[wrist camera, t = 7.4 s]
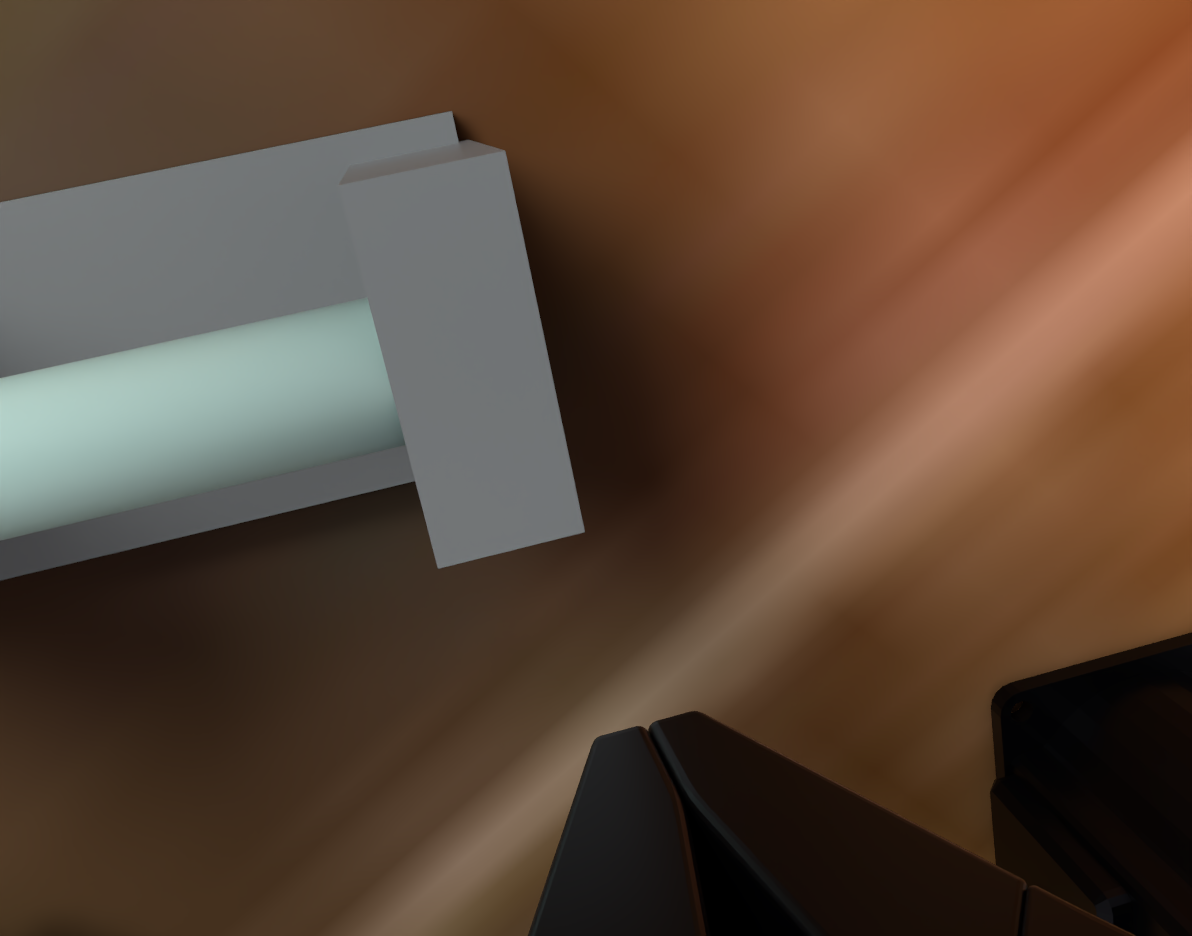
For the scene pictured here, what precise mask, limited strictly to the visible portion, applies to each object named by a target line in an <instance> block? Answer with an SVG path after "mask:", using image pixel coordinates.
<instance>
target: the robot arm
mask: <svg viewBox="0 0 1192 936" xmlns="http://www.w3.org/2000/svg"><path fill="white" fill-rule="evenodd" d="M1021 701H1023V703H1022V706H1021V707H1020V708H1019V709H1018V710H1017V711H1015V712H1013V713H1011V712H1012V709H1013V707H1014V706H1015V705H1016V704H1017V703H1019V702H1021ZM991 716H992V728H993V741H994V754H995V766H996V780H994V783H993V786H992V788H991V791H990V797H991V809H992V821H993V833H994V846H995V858H996V865H995V864H993V863H991V862H989V861H987V860H985V859H983V858H981V857H979V856H977V855H975V854H973V853H972V852H970V851H968V850H966V849H964V848H962V847H960V846H958V845H956V844H954V843H952V842H950V841H948V840H947V839H945V838H943V837H941V836H939V835H937V834H935V833H933V832H931V831H929V830H927V829H925V828H923V827H921V826H920V825H918V824H916V823H914V822H912V821H910V820H908V819H906V818H904V817H902V816H900V815H898V814H896V813H894V812H893V811H891V810H889V809H887V808H885V807H883V806H881V805H879V804H877V803H875V802H873V801H871V800H869V799H867V798H866V797H864V796H862V795H860V794H858V793H856V792H854V791H852V790H850V789H848V788H846V787H844V786H842V785H840V784H839V783H837V782H835V781H833V780H831V779H829V778H827V777H825V776H823V775H821V774H819V773H817V772H815V771H814V770H812V769H810V768H808V767H806V766H804V765H802V764H800V763H798V762H796V761H794V760H792V759H790V758H788V757H787V756H785V755H783V754H781V753H779V752H777V751H775V750H773V749H771V748H769V747H767V746H765V745H763V744H761V743H760V742H758V741H756V740H754V739H752V738H750V737H748V736H746V735H744V734H742V733H740V732H738V731H736V730H734V729H733V728H731V727H729V726H727V725H725V724H723V723H721V722H719V721H717V720H715V719H713V718H711V717H709V716H707V715H706V714H704V713H701V712H698V711H691V712H687V713H684V714H680V715H676V716H673V717H669V718H665V719H662V720H658V721H655V722H653V723H652V724H651V725H650V726H649V730H648V731H647V730H646V729H645V728H644V727H641V726H636V727H632V728H628V729H625V730H621V731H617V732H613V733H610V734H606V735H602V736H599V737H597V738H596V739H595V740H594V742H593V744H592V746H591V749H590V752H589V755H588V758H587V761H586V764H585V767H584V770H583V773H582V776H581V779H580V782H579V785H578V788H577V791H576V794H575V797H574V800H573V803H572V806H571V809H570V812H569V815H568V818H567V821H566V824H565V827H564V830H563V833H562V835H561V838H560V841H559V844H558V847H557V850H556V853H555V856H554V859H553V862H552V865H551V868H550V871H549V874H548V877H547V880H546V883H545V886H544V889H543V892H542V895H541V898H540V901H539V904H538V907H537V910H536V913H535V916H534V919H533V922H532V925H531V928H530V931H529V934H528V936H1192V633H1188V634H1185V635H1181V636H1177V637H1174V638H1170V639H1167V640H1163V641H1159V642H1156V643H1152V644H1149V645H1145V646H1141V647H1138V648H1134V649H1131V650H1127V651H1123V652H1120V653H1116V654H1113V655H1109V656H1105V657H1102V658H1098V659H1095V660H1091V661H1087V662H1084V663H1080V664H1077V665H1073V666H1069V667H1066V668H1062V669H1058V670H1055V671H1051V672H1048V673H1044V674H1040V675H1037V676H1033V677H1030V678H1026V679H1022V680H1019V681H1015V682H1012V683H1009V684H1007V685H1005V686H1003V687H1002V688H1001V689H1000V690H998V691H997V692H996V694H995V696H994V698H993V699H992V704H991Z"/></svg>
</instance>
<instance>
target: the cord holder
mask: <svg viewBox="0 0 1192 936" xmlns="http://www.w3.org/2000/svg"><path fill="white" fill-rule="evenodd" d="M413 481H415V482H416V486H417V490H418V494H419V498H420V501H421V505H422V509H423V513H424V517H425V521H426V524H427V528H428V532H429V536H430V540H431V544H432V547H433V551H434V555H435V559H436V563H437V567H438V569H439V568H443V567H447V566H451V565H455V564H459V563H463V562H467V561H471V560H475V559H479V558H483V557H487V556H491V555H495V554H499V553H503V552H507V551H511V550H515V549H519V548H523V547H527V546H531V545H535V544H539V543H543V542H547V541H551V540H555V539H559V538H563V537H567V536H571V535H575V534H579V533H583V532H585V530H584V525H583V520H582V516H581V511H580V506H579V501H578V497H577V492H576V487H575V482H574V477H573V473H572V468H571V463H570V458H569V453H568V449H567V444H566V439H565V434H564V430H563V425H562V420H561V415H560V410H559V406H558V401H557V396H556V391H555V387H554V382H553V377H552V372H551V367H550V363H549V358H548V353H547V348H546V343H545V339H544V334H543V329H542V324H541V320H540V315H539V310H538V305H537V300H536V296H535V291H534V286H533V281H532V277H531V272H530V267H529V262H528V257H527V253H526V248H525V243H524V238H523V233H522V229H521V224H520V219H519V214H518V210H517V205H516V200H515V195H514V190H513V186H512V181H511V176H510V171H509V167H508V162H507V157H506V152H505V150H501V149H498V148H495V147H491V146H488V145H485V144H481V143H478V142H475V141H472V140H463V141H458V137H457V132H456V128H455V123H454V119H453V114H452V111H449V112H444V113H439V114H434V115H429V116H424V117H419V118H414V119H409V120H405V121H400V122H395V123H390V124H385V125H380V126H375V127H370V128H365V129H360V130H355V131H350V132H345V133H340V134H335V135H330V136H325V137H321V138H316V139H311V140H306V141H301V142H296V143H291V144H286V145H281V146H276V147H271V148H266V149H261V150H256V151H251V152H246V153H242V154H237V155H232V156H227V157H222V158H217V159H212V160H207V161H202V162H197V163H192V164H187V165H182V166H177V167H172V168H167V169H162V170H158V171H153V172H148V173H143V174H138V175H133V176H128V177H123V178H118V179H113V180H108V181H103V182H98V183H93V184H88V185H83V186H78V187H74V188H69V189H64V190H59V191H54V192H49V193H44V194H39V195H34V196H29V197H24V198H19V199H14V200H9V201H4V202H0V580H4V579H9V578H13V577H17V576H21V575H25V574H29V573H34V572H38V571H42V570H46V569H50V568H55V567H59V566H63V565H67V564H71V563H75V562H80V561H84V560H88V559H92V558H96V557H100V556H105V555H109V554H113V553H117V552H121V551H125V550H130V549H134V548H138V547H142V546H146V545H150V544H155V543H159V542H163V541H167V540H171V539H176V538H180V537H184V536H188V535H192V534H196V533H201V532H205V531H209V530H213V529H217V528H221V527H226V526H230V525H234V524H238V523H242V522H246V521H251V520H255V519H259V518H263V517H267V516H271V515H276V514H280V513H284V512H288V511H292V510H297V509H301V508H305V507H309V506H313V505H317V504H322V503H326V502H330V501H334V500H338V499H342V498H347V497H351V496H355V495H359V494H363V493H367V492H372V491H376V490H380V489H384V488H388V487H392V486H397V485H401V484H405V483H409V482H413Z"/></svg>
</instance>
